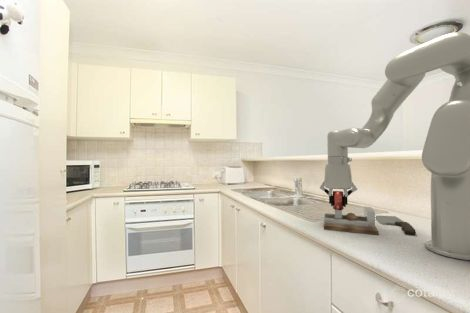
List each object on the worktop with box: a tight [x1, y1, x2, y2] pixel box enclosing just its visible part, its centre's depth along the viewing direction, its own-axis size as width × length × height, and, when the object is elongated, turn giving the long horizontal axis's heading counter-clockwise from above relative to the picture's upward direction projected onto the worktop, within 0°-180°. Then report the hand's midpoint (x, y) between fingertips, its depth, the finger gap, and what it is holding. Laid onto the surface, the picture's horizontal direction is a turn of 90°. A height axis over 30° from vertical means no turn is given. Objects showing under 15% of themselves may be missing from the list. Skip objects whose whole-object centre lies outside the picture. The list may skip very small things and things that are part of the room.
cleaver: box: [375, 215, 417, 236], centre depth 94 cm, size 29×10×2 cm, turn 161°
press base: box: [323, 223, 380, 236], centre depth 91 cm, size 18×16×2 cm
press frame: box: [323, 206, 376, 228], centre depth 92 cm, size 18×10×6 cm, turn 67°
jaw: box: [332, 190, 345, 219], centre depth 93 cm, size 4×7×12 cm, turn 157°
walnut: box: [345, 212, 357, 221], centre depth 91 cm, size 4×4×4 cm
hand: (338, 205), depth 93 cm, fingers closed on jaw, 4 cm apart
